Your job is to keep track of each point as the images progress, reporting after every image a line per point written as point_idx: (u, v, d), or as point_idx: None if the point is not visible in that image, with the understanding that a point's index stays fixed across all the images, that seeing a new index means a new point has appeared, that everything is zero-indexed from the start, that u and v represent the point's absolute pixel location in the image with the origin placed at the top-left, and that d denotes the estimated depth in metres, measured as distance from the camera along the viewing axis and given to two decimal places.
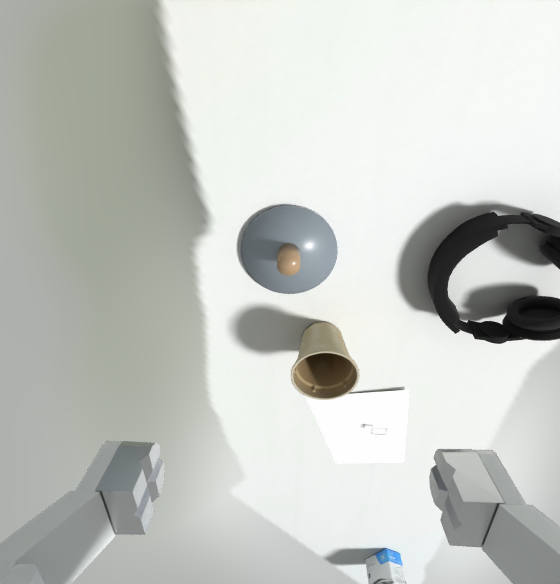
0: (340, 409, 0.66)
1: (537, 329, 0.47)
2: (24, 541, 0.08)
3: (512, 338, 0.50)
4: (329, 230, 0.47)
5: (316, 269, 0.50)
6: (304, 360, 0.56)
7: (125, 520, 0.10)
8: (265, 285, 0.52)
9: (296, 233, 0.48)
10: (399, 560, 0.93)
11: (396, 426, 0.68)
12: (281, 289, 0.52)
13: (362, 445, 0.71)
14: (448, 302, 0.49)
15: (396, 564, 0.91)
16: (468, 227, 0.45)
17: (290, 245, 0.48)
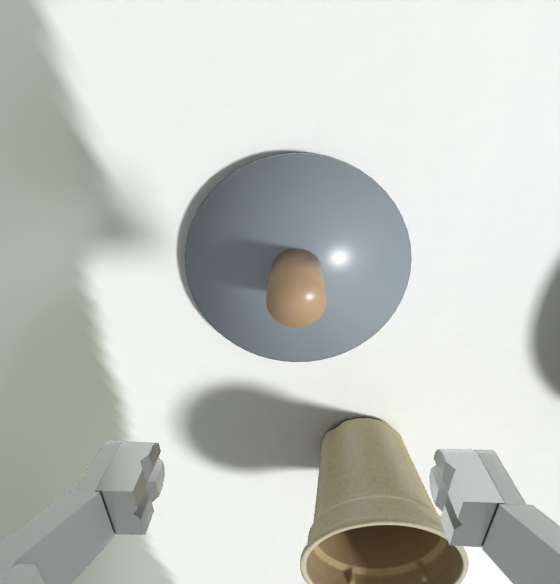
0: None
1: None
2: (24, 541, 0.08)
3: None
4: (395, 217, 0.19)
5: (358, 310, 0.22)
6: None
7: (125, 520, 0.10)
8: (243, 344, 0.24)
9: (316, 225, 0.20)
10: None
11: None
12: (279, 352, 0.24)
13: None
14: None
15: None
16: None
17: (300, 253, 0.20)
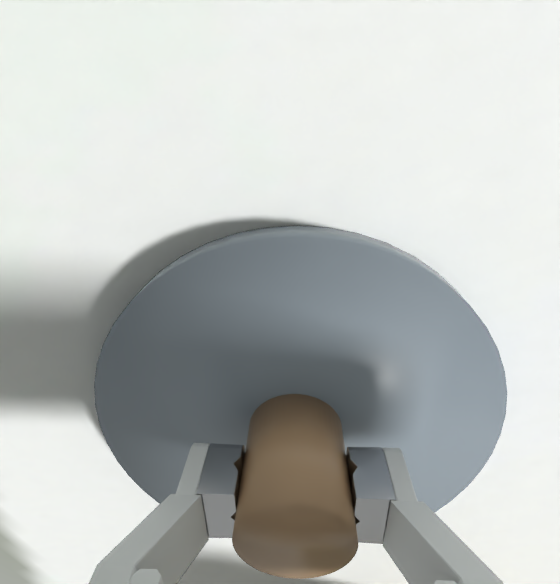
0: None
1: None
2: (139, 545, 0.08)
3: None
4: (485, 348, 0.10)
5: None
6: None
7: (221, 523, 0.09)
8: None
9: (332, 359, 0.11)
10: None
11: None
12: None
13: None
14: None
15: None
16: None
17: (302, 410, 0.11)
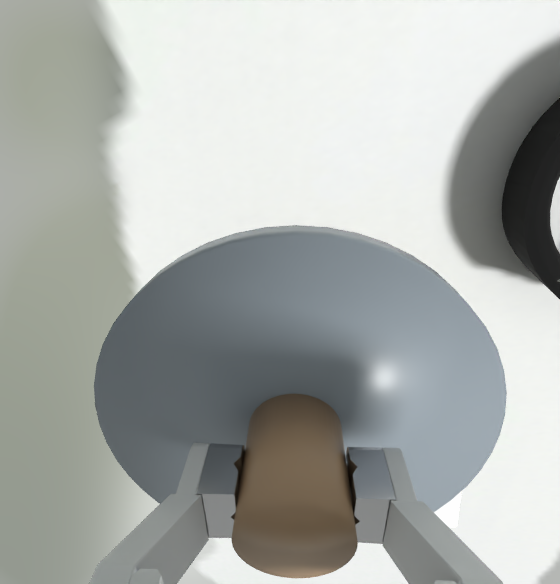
0: None
1: None
2: (139, 545, 0.08)
3: None
4: (484, 347, 0.10)
5: None
6: None
7: (221, 523, 0.09)
8: None
9: (331, 359, 0.11)
10: None
11: None
12: None
13: None
14: (550, 236, 0.26)
15: None
16: None
17: (302, 410, 0.11)
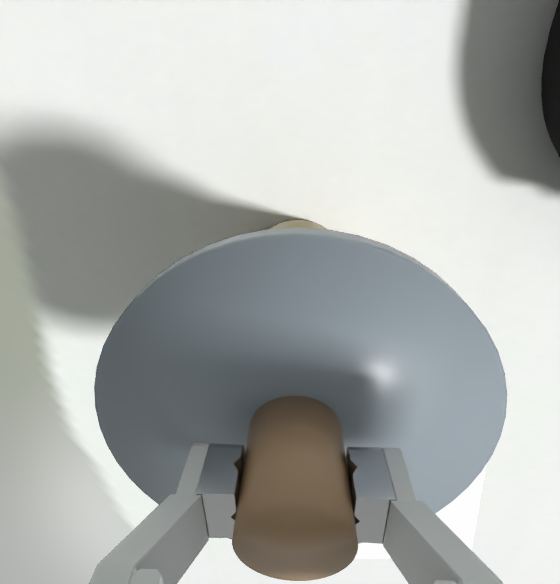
0: None
1: None
2: (139, 545, 0.08)
3: None
4: (485, 350, 0.10)
5: None
6: None
7: (221, 523, 0.09)
8: None
9: (332, 361, 0.11)
10: None
11: None
12: None
13: None
14: None
15: None
16: None
17: (302, 412, 0.11)
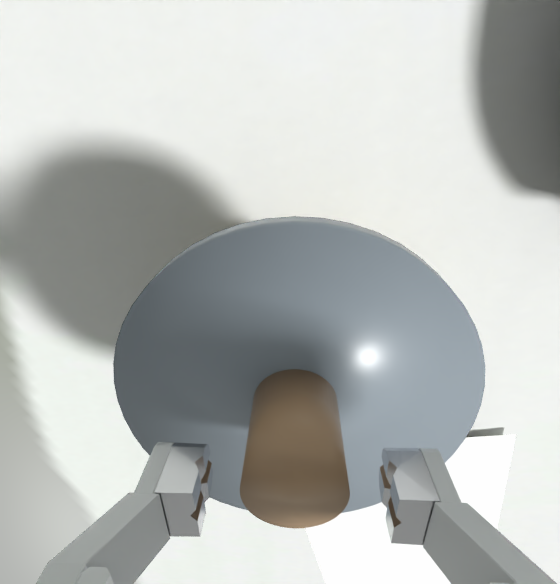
0: None
1: None
2: (91, 543, 0.08)
3: None
4: (463, 324, 0.11)
5: None
6: None
7: (181, 522, 0.09)
8: (215, 493, 0.15)
9: (327, 336, 0.12)
10: None
11: None
12: None
13: (395, 560, 0.33)
14: None
15: None
16: None
17: (301, 382, 0.12)
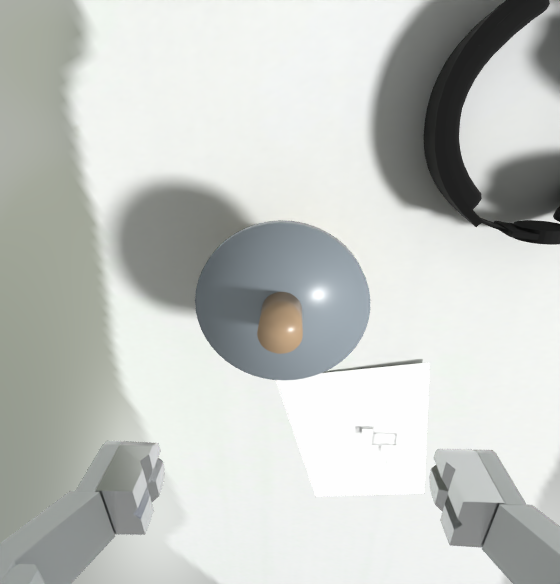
0: (322, 400, 0.43)
1: None
2: (24, 541, 0.08)
3: None
4: (355, 268, 0.26)
5: (331, 338, 0.28)
6: None
7: (125, 520, 0.10)
8: (241, 366, 0.29)
9: (295, 275, 0.26)
10: None
11: (411, 430, 0.44)
12: (269, 373, 0.30)
13: (360, 465, 0.47)
14: (461, 163, 0.28)
15: None
16: None
17: (284, 296, 0.26)
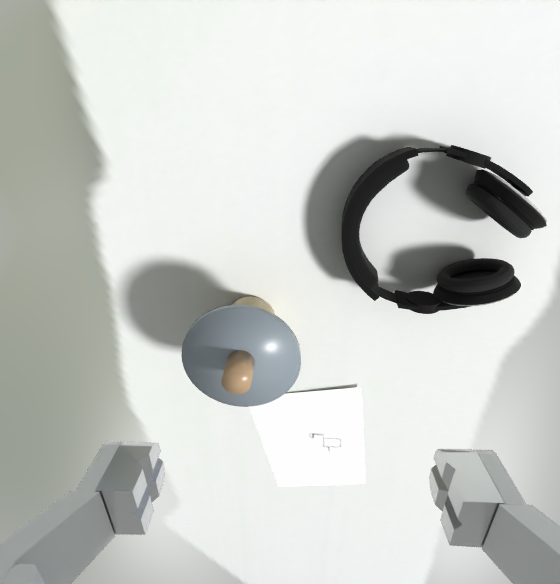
0: (283, 413, 0.55)
1: (468, 291, 0.38)
2: (24, 541, 0.08)
3: (443, 307, 0.41)
4: (289, 336, 0.38)
5: (276, 379, 0.41)
6: None
7: (125, 520, 0.10)
8: (214, 397, 0.42)
9: (249, 339, 0.38)
10: None
11: (351, 436, 0.57)
12: (234, 401, 0.42)
13: (314, 462, 0.60)
14: (362, 259, 0.40)
15: None
16: (377, 163, 0.37)
17: (241, 354, 0.38)
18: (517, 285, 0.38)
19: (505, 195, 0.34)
